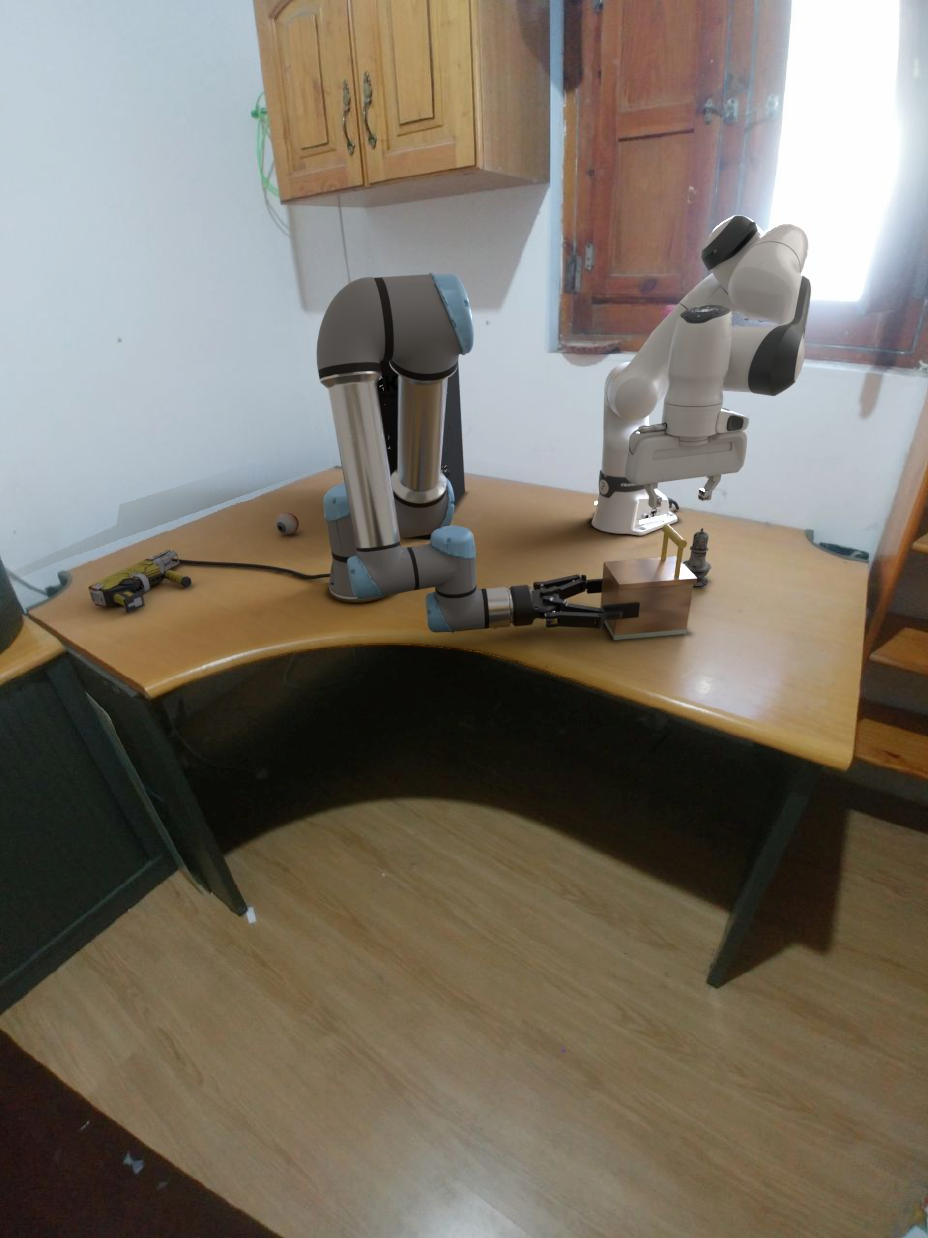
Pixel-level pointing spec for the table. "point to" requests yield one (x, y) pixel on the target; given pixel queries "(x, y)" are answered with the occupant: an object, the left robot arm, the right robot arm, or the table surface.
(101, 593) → the toy gun
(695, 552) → the salt shaker
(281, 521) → the eyeball
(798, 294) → the right robot arm
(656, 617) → the chest
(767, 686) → the table surface
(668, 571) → the lid
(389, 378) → the black box
